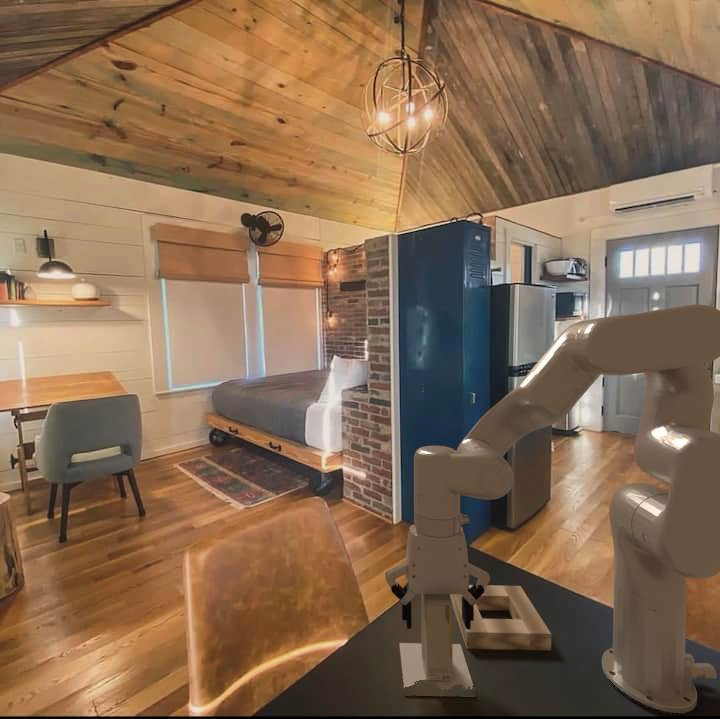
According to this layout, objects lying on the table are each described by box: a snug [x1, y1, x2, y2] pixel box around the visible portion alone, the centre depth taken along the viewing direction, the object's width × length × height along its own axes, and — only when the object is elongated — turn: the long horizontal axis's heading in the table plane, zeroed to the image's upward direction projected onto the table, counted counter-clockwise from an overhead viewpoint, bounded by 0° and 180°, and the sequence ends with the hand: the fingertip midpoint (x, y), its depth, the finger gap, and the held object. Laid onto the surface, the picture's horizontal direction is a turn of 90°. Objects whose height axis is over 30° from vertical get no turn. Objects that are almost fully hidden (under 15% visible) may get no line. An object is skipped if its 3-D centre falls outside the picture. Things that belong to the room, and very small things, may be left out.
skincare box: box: [421, 594, 454, 681], centre depth 69 cm, size 6×4×12 cm
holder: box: [449, 584, 552, 651], centre depth 81 cm, size 15×15×3 cm
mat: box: [398, 642, 475, 690], centre depth 69 cm, size 11×11×1 cm
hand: (437, 623), depth 68 cm, fingers open, 9 cm apart
